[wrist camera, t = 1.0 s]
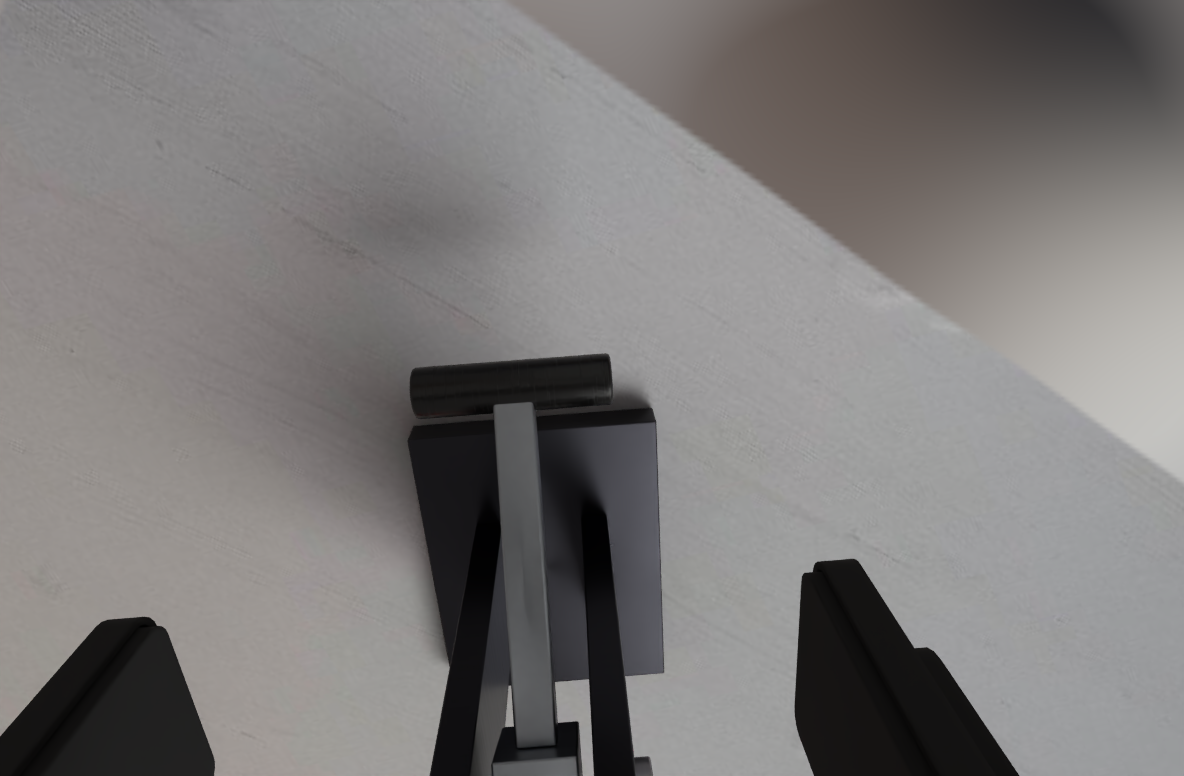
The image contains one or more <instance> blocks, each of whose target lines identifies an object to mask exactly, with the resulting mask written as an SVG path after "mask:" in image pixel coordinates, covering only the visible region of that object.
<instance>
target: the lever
mask: <svg viewBox="0 0 1184 776" xmlns="http://www.w3.org/2000/svg"><path fill="white" fill-rule="evenodd" d="M410 400H411V405H412V409H413V412H414V415H415V416H416V418H418V419H427V418H440V417H453V416H466V415H480V414H493V413H494V427H495V443H496V458H497V473H498V489H499V504H500V519H501V535H502V550H503V565H504V581H505V596H506V611H507V627H508V642H509V657H510V673H511V688H512V704H513V719H514V727H504V728H502V731H501V734H500V737H499V741H498V744H497V747H496V751H495V754H494V757H493V761H492V764H491V772H492V776H583V775H582V761H581V747H580V733H579V723H578V722H564V723H558V720H557V706H556V692H555V677H554V663H553V649H552V635H551V620H550V606H549V592H548V578H547V563H546V549H545V535H544V520H543V506H542V492H541V478H540V463H539V449H538V435H537V421H536V410H545V409H558V408H572V407H585V406H598V405H610V404H612V402H613V384H612V371H611V361H610V356H609V354H606V353H605V354H592V355H579V356H565V357H552V358H539V359H525V360H512V361H499V362H486V363H472V364H459V365H446V366H432V367H419V368H415V369H413V370H412V372H411V376H410Z"/></svg>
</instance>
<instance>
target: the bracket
mask: <svg viewBox="0 0 1184 776" xmlns="http://www.w3.org/2000/svg"><path fill="white" fill-rule="evenodd" d="M536 421H537V435H538V449H539V463H540V478H541V492H542V506H543V520H544V535H545V549H546V563H547V578H548V592H549V606H550V620H551V635H552V649H553V663H554V677H555V682H559V681H571V680H583V679H589V685H590V705H591V724H592V744H593V763H594V776H653V772H652V765H651V759H650V757H648V756H647V757H635V758H634V753H633V744H632V735H631V726H630V717H629V708H628V699H627V690H626V681H625V676H633V675H645V674H657V673H664V654H663V622H662V591H661V559H660V528H659V496H658V465H657V433H656V420H655V416H654V413H653V409H652V408H644V409H631V410H618V411H605V412H592V413H579V414H566V415H553V416H539V417H536ZM408 446H409V451H410V457H411V462H412V468H413V473H414V478H415V484H416V489H417V494H418V500H419V505H420V510H421V516H422V521H423V527H424V532H425V537H426V543H427V548H428V553H429V559H430V564H431V569H432V575H433V580H434V586H435V591H436V596H437V602H438V607H439V612H440V618H441V623H442V628H443V634H444V639H445V645H446V650H447V655H448V661H449V666H450V669H449V675H448V680H447V686H446V691H445V696H444V702H443V707H442V712H441V718H440V723H439V728H438V734H437V739H436V745H435V750H434V755H433V761H432V766H431V771H430V776H492V772H491V764H492V761H493V757H494V754H495V751H496V747H497V744H498V741H499V737H500V734H501V731H502V728H504V727H505V721H506V709H507V697H508V686H510V685H511V673H510V657H509V642H508V627H507V611H506V596H505V581H504V565H503V550H502V535H501V519H500V504H499V489H498V473H497V458H496V443H495V427H494V420H487V421H474V422H461V423H448V424H435V425H421V426H414V427H413V429H412V431H411V434H410V436H409V438H408Z"/></svg>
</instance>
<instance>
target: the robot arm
mask: <svg viewBox="0 0 1184 776" xmlns="http://www.w3.org/2000/svg"><path fill="white" fill-rule="evenodd" d="M795 720H796V726H797V730H798V733H799V736H800V739H801V742H802V745H803V747H804V750H805V753H806V755H807V758H808V761H809V763H810V766H811V769H812V771H813V774H814V776H1019V775H1018V773H1017V772H1016V770H1015V769H1014V767H1013V766H1012V764H1011V763H1010V761H1009V760H1008V758H1007V757H1006V755H1005V754H1004V752H1003V751H1002V749H1001V748H1000V746H999V745H998V743H997V742H996V740H995V739H994V738H993V736H992V735H991V733H990V732H989V730H988V729H987V727H986V726H985V724H984V723H983V721H982V720H981V718H980V717H979V715H978V714H977V712H976V711H975V709H974V708H973V706H972V705H971V703H970V702H969V701H968V699H967V698H966V696H965V695H964V693H963V692H962V690H961V689H960V687H959V686H958V684H957V683H956V681H955V680H954V678H953V677H952V675H951V674H950V672H949V671H948V669H947V668H946V666H945V665H944V664H943V662H942V661H941V659H940V658H939V657H938V656H937V655H936V653H935V652H934V651H932V650H931V649H929V648H927V647H926V648H914V647H913V645H912V644H911V642H910V641H909V639H908V638H907V636H906V635H905V633H904V631H903V630H902V628H901V627H900V625H899V624H898V622H897V621H896V619H895V617H894V616H893V614H892V613H891V611H890V610H889V608H888V607H887V605H886V603H885V602H884V600H883V599H882V597H881V596H880V594H879V592H878V591H877V589H876V588H875V586H874V585H873V583H872V582H871V580H870V578H869V577H868V575H867V574H866V572H865V571H864V569H863V568H862V566H861V564H860V563H859V562H858V561H857V560H855V559H845V560H833V561H821V562H816V563H815V565H814V568H813V572H810V573H804V574H803V576H802V581H801V599H800V618H799V636H798V654H797V673H796V691H795ZM214 770H215V761H214V757H213V754H212V751H211V748H210V746H209V743H208V740H207V738H206V735H205V732H204V730H203V727H202V724H201V721H200V719H199V716H198V713H197V711H196V708H195V705H194V703H193V700H192V697H191V694H190V692H189V689H188V686H187V684H186V681H185V678H184V676H183V673H182V670H181V667H180V665H179V662H178V659H177V657H176V654H175V651H174V649H173V646H172V643H171V640H170V638H169V635H168V633H167V631H166V629H165V628H163V627H162V626H157V625H156V623H155V621H153V620H152V619H151V618H149V617H136V618H124V619H112V620H106V621H103V622H101V623H100V624H99V625H98V626H96V627H95V628H94V630H93V631H92V632H91V633H90V634H89V635H88V636H87V638H86V639H85V640H84V641H83V642H82V643H81V644H80V646H79V647H78V648H77V649H76V650H75V651H74V653H73V654H72V655H71V656H70V657H69V658H68V659H67V661H66V662H65V663H64V664H63V665H62V666H61V667H60V669H59V670H58V671H57V672H56V673H55V674H54V675H53V677H52V678H51V679H50V680H49V681H48V682H47V683H46V685H45V686H44V687H43V688H42V689H41V690H40V691H39V693H38V694H37V695H36V696H35V697H34V698H33V700H32V701H31V702H30V703H29V704H28V705H27V706H26V708H25V709H24V710H23V711H22V712H21V713H20V714H19V716H18V717H17V718H16V719H15V720H14V721H13V722H12V724H11V725H10V726H9V727H8V728H7V729H6V730H5V732H4V733H3V734H2V735H1V736H0V776H214Z"/></svg>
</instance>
